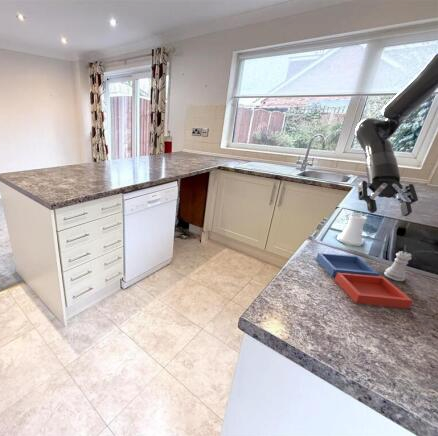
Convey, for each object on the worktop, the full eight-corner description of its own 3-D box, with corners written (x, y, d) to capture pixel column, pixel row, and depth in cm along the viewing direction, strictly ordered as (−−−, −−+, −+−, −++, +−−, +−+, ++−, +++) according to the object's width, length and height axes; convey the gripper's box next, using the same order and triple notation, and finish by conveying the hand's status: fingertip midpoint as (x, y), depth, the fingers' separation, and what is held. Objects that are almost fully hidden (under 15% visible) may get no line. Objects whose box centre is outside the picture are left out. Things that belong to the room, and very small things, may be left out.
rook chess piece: (400, 275, 72) (411, 251, 69) (407, 283, 68) (420, 259, 65) (380, 271, 73) (391, 248, 70) (386, 279, 70) (398, 255, 67)
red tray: (380, 284, 68) (383, 276, 67) (408, 308, 59) (413, 300, 58) (334, 279, 69) (337, 272, 68) (355, 303, 60) (359, 295, 60)
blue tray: (355, 262, 78) (357, 255, 77) (376, 281, 69) (379, 273, 68) (315, 259, 79) (318, 252, 78) (331, 276, 71) (334, 269, 70)
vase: (341, 234, 96) (350, 211, 93) (365, 242, 91) (375, 217, 87) (333, 239, 92) (341, 215, 89) (357, 247, 87) (367, 222, 83)
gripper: (363, 160, 79) (370, 205, 73) (417, 163, 76) (429, 210, 70) (350, 173, 86) (355, 215, 80) (398, 176, 83) (408, 220, 77)
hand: (389, 213), depth 75 cm, fingers open, 8 cm apart
